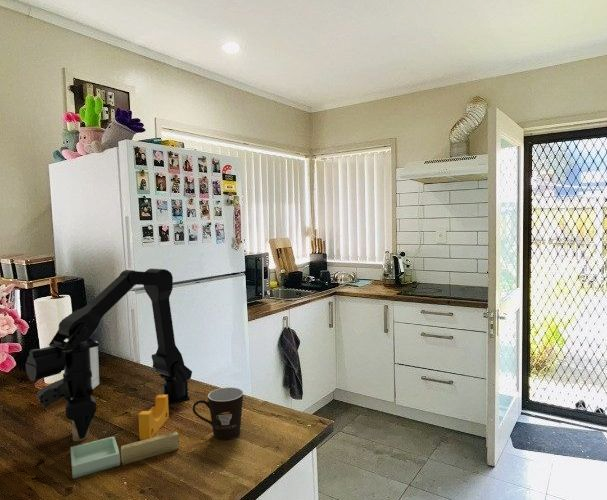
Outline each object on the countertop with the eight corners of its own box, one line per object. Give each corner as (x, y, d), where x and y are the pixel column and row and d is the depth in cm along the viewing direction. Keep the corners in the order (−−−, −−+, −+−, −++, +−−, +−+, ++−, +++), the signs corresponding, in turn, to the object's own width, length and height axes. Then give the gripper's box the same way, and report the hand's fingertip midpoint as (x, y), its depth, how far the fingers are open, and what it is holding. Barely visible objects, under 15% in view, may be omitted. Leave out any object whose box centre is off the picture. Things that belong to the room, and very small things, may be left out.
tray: (114, 446, 98) (114, 436, 98) (120, 464, 90) (119, 453, 90) (71, 458, 93) (70, 447, 93) (72, 478, 86) (72, 466, 86)
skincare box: (82, 385, 138) (80, 341, 138) (100, 384, 138) (98, 340, 138) (68, 395, 130) (66, 348, 129) (88, 394, 130) (85, 347, 129)
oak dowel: (88, 432, 105) (87, 405, 105) (89, 438, 102) (88, 410, 102) (72, 436, 103) (71, 409, 103) (73, 442, 100) (71, 414, 100)
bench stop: (177, 445, 98) (176, 431, 98) (178, 448, 96) (178, 434, 96) (121, 461, 92) (121, 446, 91) (122, 464, 90) (122, 449, 90)
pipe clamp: (153, 417, 113) (152, 394, 113) (168, 417, 113) (167, 394, 113) (132, 440, 101) (131, 414, 101) (150, 440, 101) (148, 414, 101)
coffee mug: (250, 428, 106) (249, 389, 105) (234, 444, 98) (232, 403, 97) (210, 422, 110) (209, 384, 109) (191, 437, 102) (190, 397, 101)
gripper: (39, 364, 106) (43, 424, 107) (37, 387, 90) (41, 457, 91) (89, 356, 112) (91, 413, 112) (95, 376, 96) (98, 443, 96)
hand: (80, 430), depth 103 cm, fingers open, 9 cm apart
